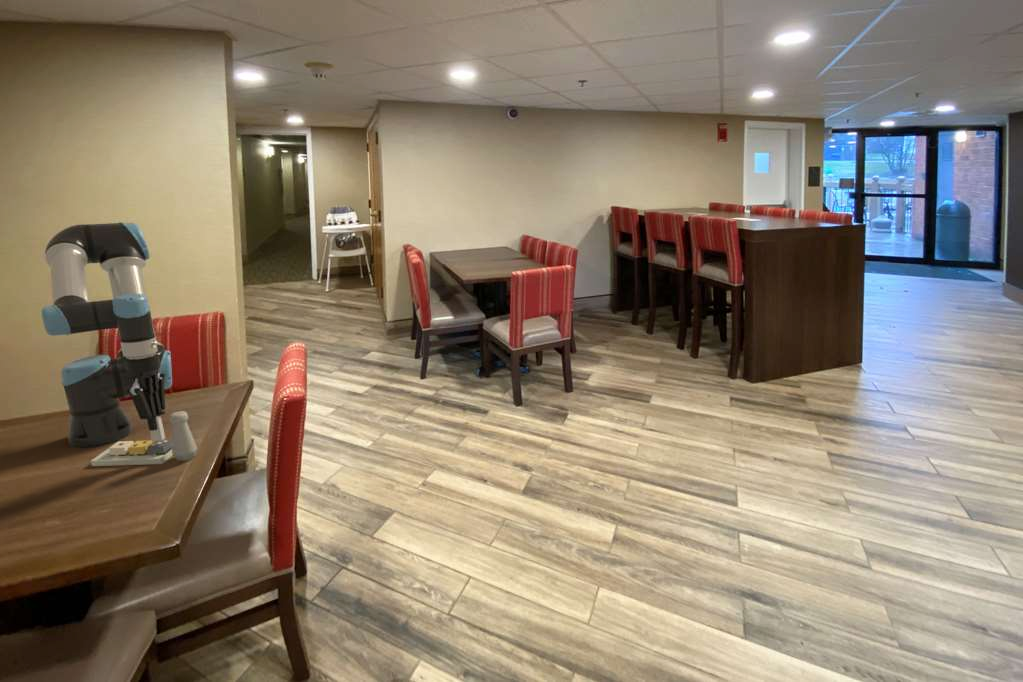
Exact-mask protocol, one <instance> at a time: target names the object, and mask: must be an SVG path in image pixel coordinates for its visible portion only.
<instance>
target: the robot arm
mask: <svg viewBox="0 0 1023 682" xmlns="http://www.w3.org/2000/svg"><path fill="white" fill-rule="evenodd" d="M44 255H45V258H44V259H45V261H46V263H47V264H46V265H48V267H50V278H51V279H50V280H51V295H52V296H51V297H52V304H51V305H48V306H44V307H43V308H42V309H41V316H42V317H41V318H42V323H43V327H44V329H45V332H46V334H47V335H49V336H53V337H54V336H63V335H64V336H69V335H76V334H81V333H88V332H95V331H103V330H104V331H106V330H112V329H117V331H118V336H119V342H120V347H121V348H120V349H119V350H118V352H117V354H118V357H117V358H112V359H111V357H110V356H109V355H107V354H96V355H91V356H87V357H83V358H80V359H76V360H73V361H72V362H69V363H68V364H66V365H65V366H63V368H62V369H61V371H60V375H61V381H62V383H61V385H62V386H63V388H64V393H65V397H66V401H67V404H68V410H69V413H70V421H69V426H68V428H69V429H68V433H67V438H68V443H69V445H71V446H72V447H77V448H88V447H89V448H90V447H95V446H100V445H105V444H110V443H112V442H115V441H118V440H121V439H123V438H125V437H126V436H128V435H129V434H131V432H132V431H133V425H132V421H131V420H130V419H129V417H128V416H127V414H126V413H125V411H124V410H123V408H122V407H121V405H120V400H119V399H123V398H129V397H131V399H132V402H133V404H134V407H135V410H136V412H137V414H138V417H139V419H140V420H146V421H147V425H148V430H149V433H150V440H152V442H154V441H161V440H166V435H165V429H164V425H163V420H162V415H165V414H166V411H165V410H166V395H165V392H166V391H165V390H168V389H170V388H171V387H172V385H173V375H172V374H173V373H172V372H173V371H172V357H171V356H172V353H171V351H170V350H167V349H166V350H165V348H164V347H165V346H164V345H163V344H162V343H160V342H158V341H157V337H156V332H155V327H154V324H153V317H152V313H151V306H150V303H149V299H148V294H147V291H146V285H145V281H144V275H143V270H142V269H143V268H145V266H146V265H147V263H146V261H147V260H150V257H151V255H150V251H149V247H148V245H147V241H146V239H145V236H144V233H143V231H142V229H141V227H140V226H139V225H138V224H137V223H135V222H121V221H120V222H110V223H91V224H75V225H71V226H69V227H65V228H64V229H62V230H60V231H58V232H57V233H55V235H54V236H53V237H52V238H51V239H50V240H49V242H48V243H47V245H46V247H45V250H44ZM87 264H88V265H89V264H99V265H100V266H99V267H100V268H101V270H103V271H104V272H105V273H106V272H107V273H108V278H109V284H110V288H111V294H112V299H103V300H97V301H96V300H94V301H93V300H92V301H90V300H89V292H88V284H87V276H86V270H85V267H86V266H87Z"/></svg>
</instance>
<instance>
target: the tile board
mask: <svg viewBox="0 0 1023 682" xmlns="http://www.w3.org/2000/svg"><path fill="white" fill-rule="evenodd" d="M109 448H110V447H108V448H107V449H105V450H104V451H102V452H101V453H99V454H98V455H97V456H96V457H94V458H93V459H92V460H90V463H91V467H103V466H104V467H105V466H106V467H107V466H108V467H109V466H111V467H113V466H132V465H133V466H135V465H137V466H139V465H141V466H142V465H163V464H164V463H165V462H166V461H167V460H168V459H169V458H170V457H172V456H174V455H173V453H172V447H171V448H170V449H169V450H168V451H166V452H165V453H164V454H149V452H147V453H146V455H145V454H142V455H139V454H129V452H128V453H127V454H126V455H110V452H109Z"/></svg>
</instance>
